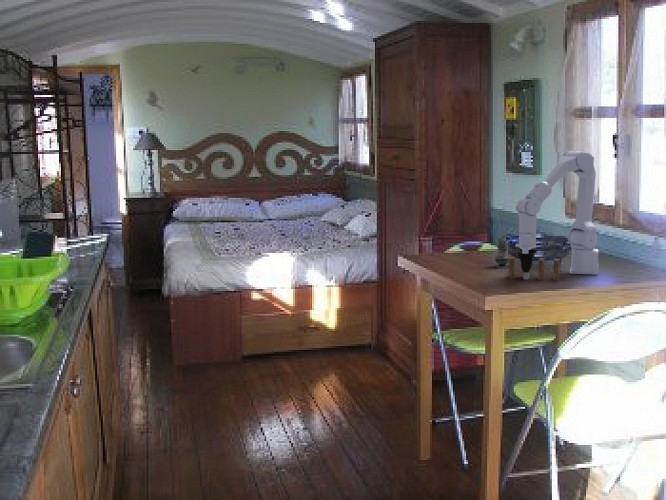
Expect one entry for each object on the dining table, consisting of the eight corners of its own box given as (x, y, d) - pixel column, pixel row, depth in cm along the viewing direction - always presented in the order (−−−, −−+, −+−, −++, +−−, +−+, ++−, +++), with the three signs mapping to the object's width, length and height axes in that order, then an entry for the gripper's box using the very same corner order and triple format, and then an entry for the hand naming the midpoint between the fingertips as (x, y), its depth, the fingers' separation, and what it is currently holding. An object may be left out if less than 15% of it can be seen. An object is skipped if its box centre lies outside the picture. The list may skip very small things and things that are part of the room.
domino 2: (529, 277, 273) (529, 257, 272) (528, 279, 269) (528, 259, 268) (524, 276, 274) (525, 257, 273) (523, 279, 270) (523, 259, 268)
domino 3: (544, 277, 271) (544, 258, 270) (543, 280, 267) (543, 260, 266) (539, 277, 272) (539, 258, 271) (538, 279, 268) (538, 260, 267)
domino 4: (558, 278, 270) (559, 258, 269) (558, 280, 266) (558, 260, 265) (554, 278, 270) (554, 258, 269) (553, 280, 266) (553, 260, 265)
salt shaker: (510, 268, 290) (511, 236, 288) (494, 268, 291) (495, 236, 289) (509, 265, 296) (510, 234, 294) (493, 265, 297) (494, 234, 295)
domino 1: (515, 276, 275) (515, 257, 274) (513, 278, 271) (514, 259, 270) (510, 276, 275) (510, 256, 274) (509, 278, 271) (509, 259, 270)
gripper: (518, 229, 277) (517, 266, 279) (513, 235, 263) (512, 274, 265) (538, 229, 274) (537, 267, 277) (534, 235, 261) (533, 274, 263)
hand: (526, 270), depth 271 cm, fingers open, 5 cm apart
